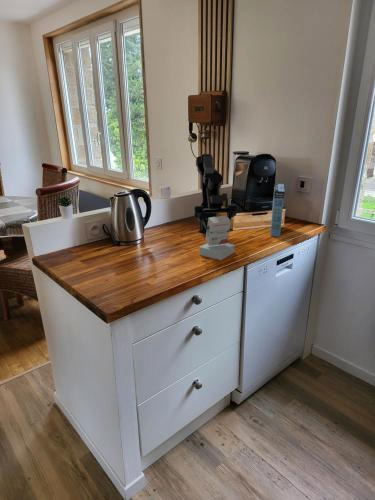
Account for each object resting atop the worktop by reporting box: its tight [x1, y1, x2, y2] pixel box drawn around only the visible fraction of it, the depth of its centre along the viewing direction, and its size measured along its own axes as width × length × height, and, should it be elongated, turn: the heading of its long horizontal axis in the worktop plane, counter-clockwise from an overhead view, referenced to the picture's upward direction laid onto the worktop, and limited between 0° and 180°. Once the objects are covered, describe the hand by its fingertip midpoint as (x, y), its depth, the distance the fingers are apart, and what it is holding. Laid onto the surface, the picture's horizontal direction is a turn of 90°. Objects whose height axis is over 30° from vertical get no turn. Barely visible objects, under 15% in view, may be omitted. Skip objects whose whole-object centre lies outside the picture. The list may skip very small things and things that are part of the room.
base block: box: [198, 242, 235, 261], centre depth 148 cm, size 11×11×4 cm
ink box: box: [205, 214, 232, 246], centre depth 143 cm, size 9×5×12 cm, turn 111°
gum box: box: [270, 183, 286, 238], centre depth 172 cm, size 20×5×23 cm, turn 166°
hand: (217, 228), depth 143 cm, fingers closed on ink box, 9 cm apart
